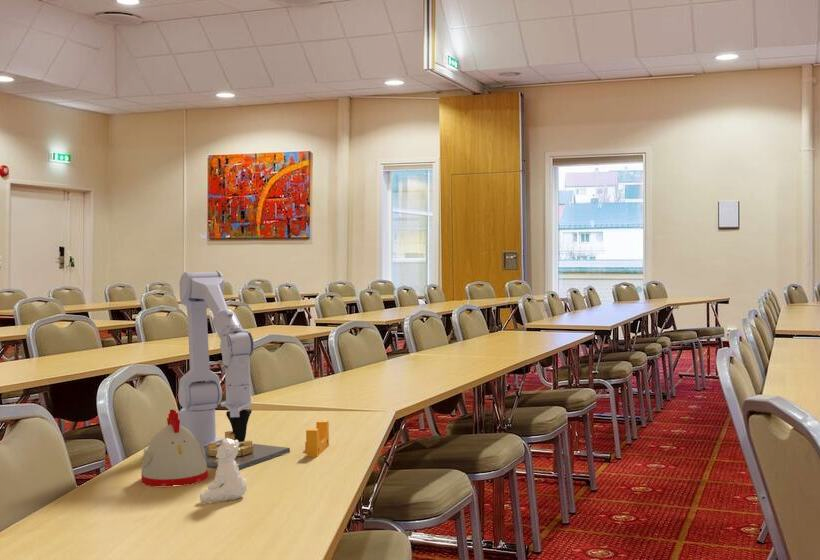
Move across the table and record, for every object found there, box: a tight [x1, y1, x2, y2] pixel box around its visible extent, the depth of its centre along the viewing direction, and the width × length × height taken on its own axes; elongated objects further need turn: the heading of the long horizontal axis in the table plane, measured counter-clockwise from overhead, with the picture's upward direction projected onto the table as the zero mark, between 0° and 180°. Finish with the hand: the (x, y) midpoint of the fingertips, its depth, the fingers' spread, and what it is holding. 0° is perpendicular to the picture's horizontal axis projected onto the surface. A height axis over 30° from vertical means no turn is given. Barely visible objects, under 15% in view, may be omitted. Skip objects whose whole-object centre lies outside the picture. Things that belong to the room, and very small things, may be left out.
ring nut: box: [207, 430, 254, 456], centre depth 218 cm, size 11×10×6 cm
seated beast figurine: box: [199, 438, 247, 504], centre depth 183 cm, size 10×9×12 cm
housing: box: [204, 438, 291, 471], centre depth 218 cm, size 20×20×4 cm
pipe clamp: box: [304, 420, 330, 458], centre depth 222 cm, size 12×4×6 cm, turn 172°
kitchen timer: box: [140, 409, 209, 487], centre depth 198 cm, size 14×14×15 cm
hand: (239, 441), depth 214 cm, fingers closed, pressing on ring nut
